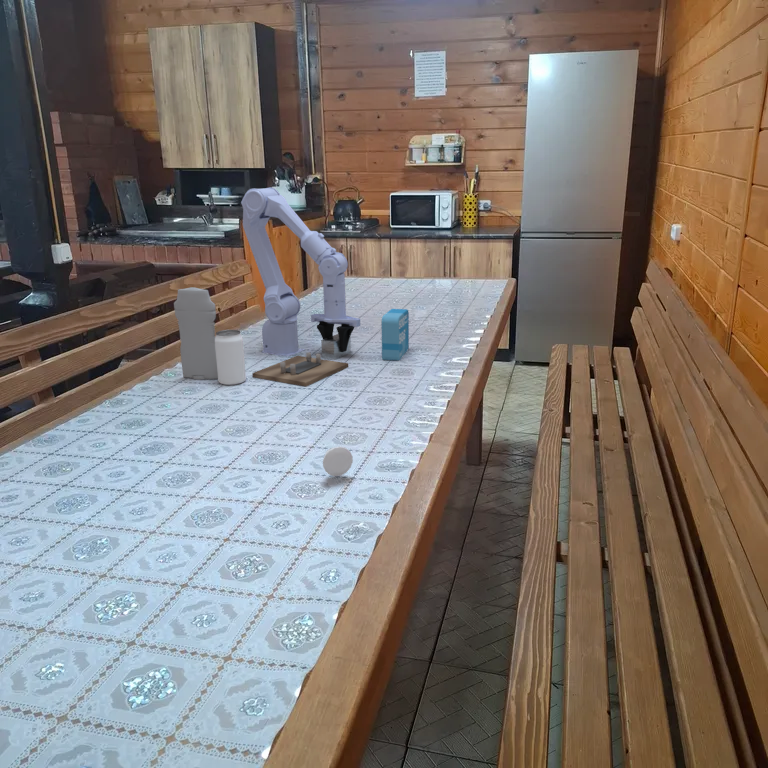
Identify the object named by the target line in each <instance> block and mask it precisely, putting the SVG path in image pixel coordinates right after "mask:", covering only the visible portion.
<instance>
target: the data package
mask: <svg viewBox="0 0 768 768" xmlns="http://www.w3.org/2000/svg"><path fill="white" fill-rule="evenodd" d="M409 317H410V315H409V309H407V308H406V309H405V308H391V309H390V310H388V311H387V312H386V313H384V315H382V317H381V320H380V321H381V358H382V360H383V361H398V362H399V361H400V360H401V359H402V358H403V357H404V355H405V354H406V353H407V351H408V350H409V346H410V345H409V343H410V342H409V340H410V339H409V338H410V337H409V334H410V332H409V331H410V328H409V327H410V323H409V322H410V320H409Z"/></svg>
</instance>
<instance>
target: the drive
mask: <svg viewBox="0 0 768 768" xmlns="http://www.w3.org/2000/svg"><path fill="white" fill-rule="evenodd" d="M351 338H352V337H350V338H349V342H348V346H347V351H345V352H340V341H339V335H338V333H336V334H335V335H334V334H333V336H331V337H328V338H326V339H323V338H322V339H321V340H320V341H321V359H323V360H331V361H335V360H337V359H339V358H342V357H343V356H346V355H347V354H349V353H351V352H352V345H351V344H352V343H351Z"/></svg>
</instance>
